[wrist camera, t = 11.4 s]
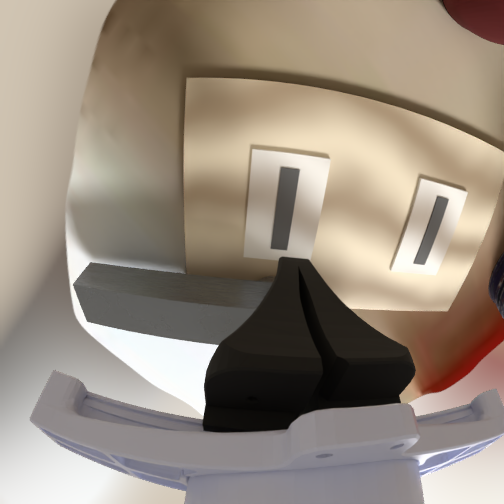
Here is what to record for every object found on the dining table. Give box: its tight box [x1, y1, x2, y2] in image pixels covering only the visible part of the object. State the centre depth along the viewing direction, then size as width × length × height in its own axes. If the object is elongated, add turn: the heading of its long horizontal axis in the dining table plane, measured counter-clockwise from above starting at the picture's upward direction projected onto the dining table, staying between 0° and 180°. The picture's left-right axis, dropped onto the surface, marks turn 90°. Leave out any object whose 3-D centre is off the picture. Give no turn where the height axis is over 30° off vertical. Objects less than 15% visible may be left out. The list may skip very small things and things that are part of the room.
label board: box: [184, 78, 504, 311], centre depth 19 cm, size 17×26×1 cm, turn 85°
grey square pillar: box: [73, 262, 275, 345], centre depth 21 cm, size 17×4×4 cm, turn 86°
